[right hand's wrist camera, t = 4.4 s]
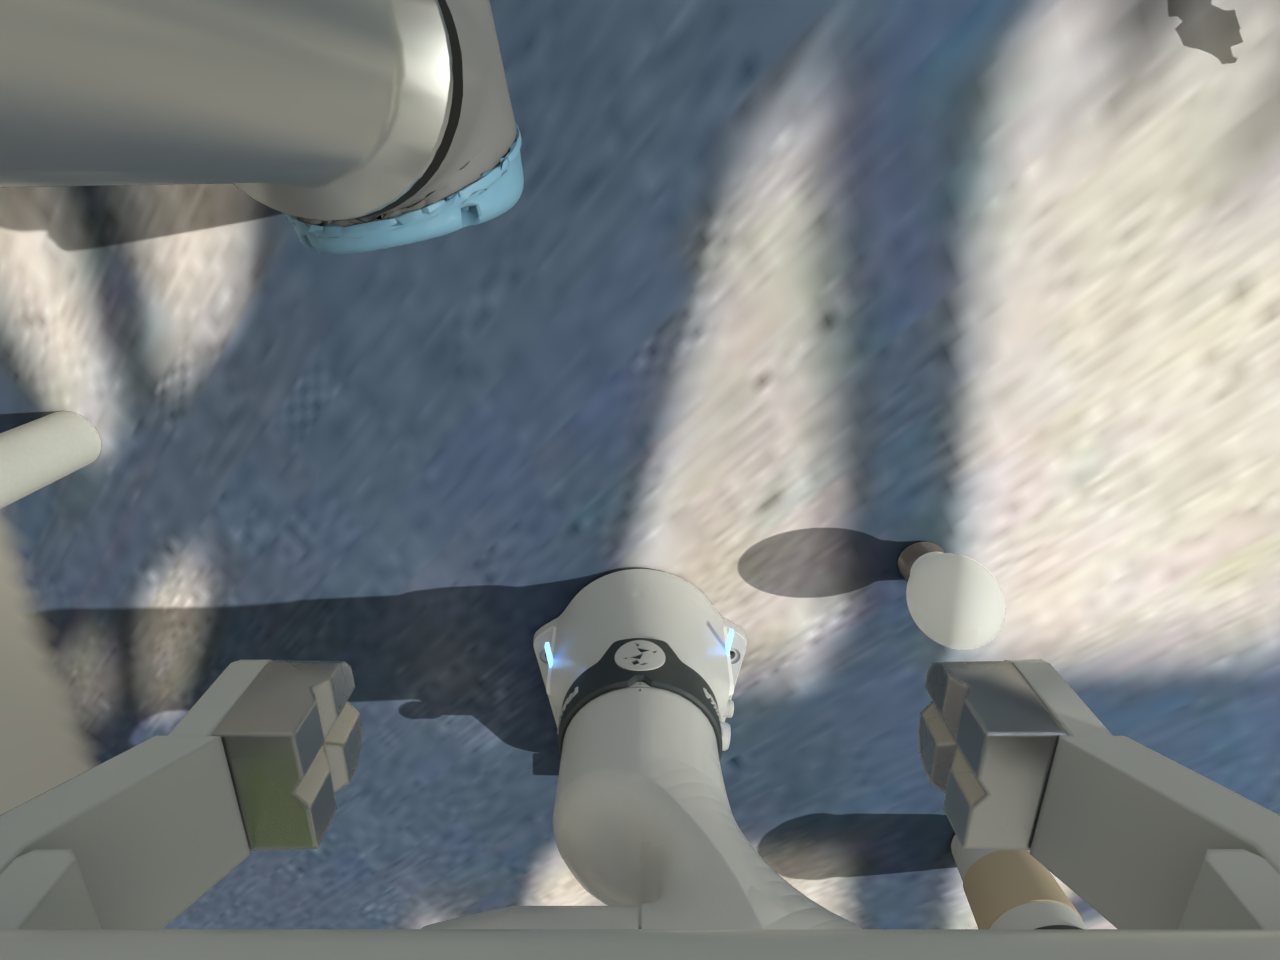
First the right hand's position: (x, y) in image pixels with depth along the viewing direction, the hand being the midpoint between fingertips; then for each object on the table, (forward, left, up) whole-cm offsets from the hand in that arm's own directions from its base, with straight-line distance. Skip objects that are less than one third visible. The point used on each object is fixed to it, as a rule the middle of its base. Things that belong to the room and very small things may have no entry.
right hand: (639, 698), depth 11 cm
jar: (-12, +45, -48) cm, 67 cm away
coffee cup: (-55, -35, -48) cm, 81 cm away
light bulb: (-23, -24, -48) cm, 58 cm away
